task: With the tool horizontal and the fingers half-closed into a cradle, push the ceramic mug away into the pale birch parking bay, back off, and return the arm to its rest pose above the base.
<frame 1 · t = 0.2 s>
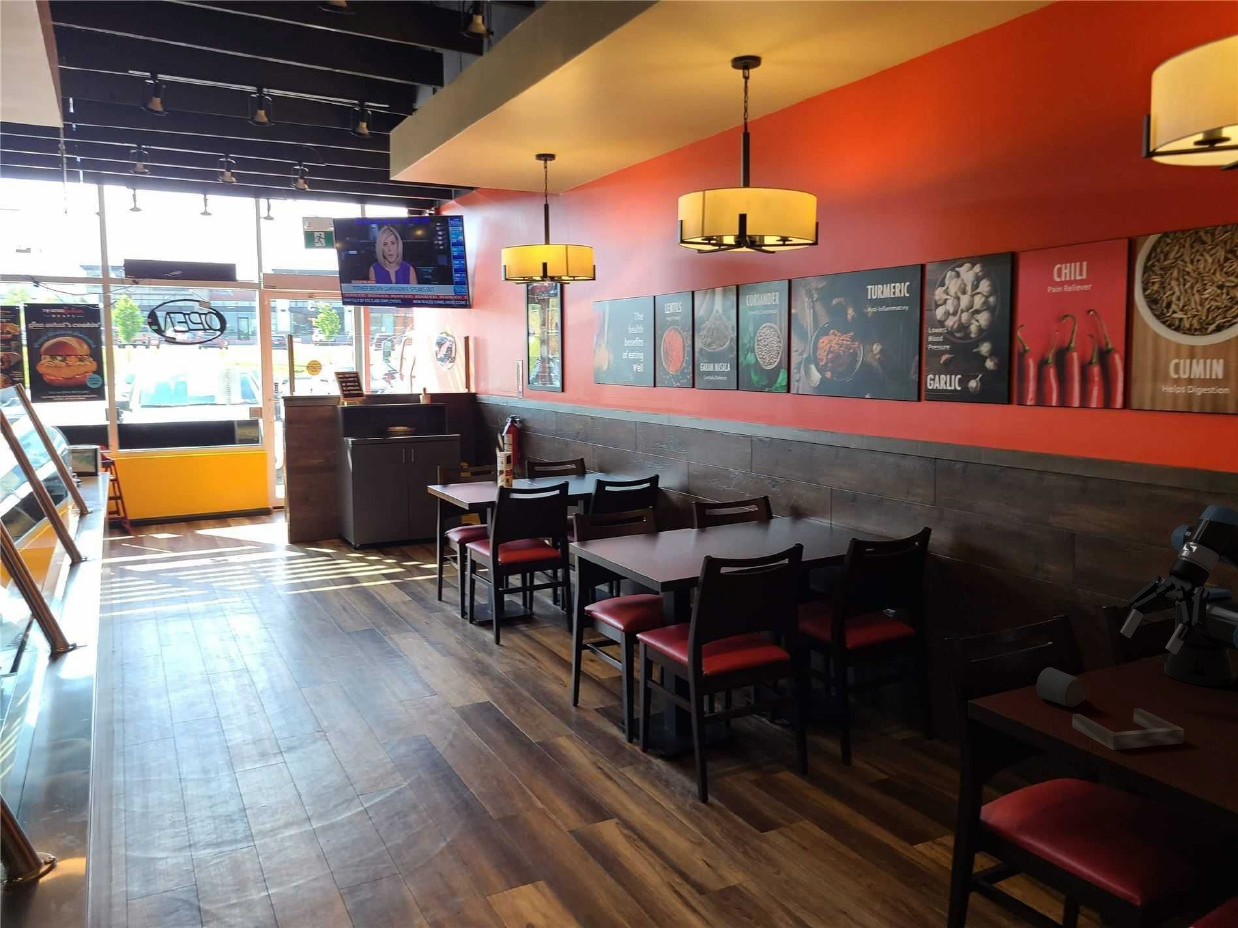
hand: (1147, 642, 204), 15 cm above the table, tool tilted 35°, fingers open, 13 cm apart
ceramic mug: (1062, 702, 208), on the table
bay: (1126, 734, 188), on the table
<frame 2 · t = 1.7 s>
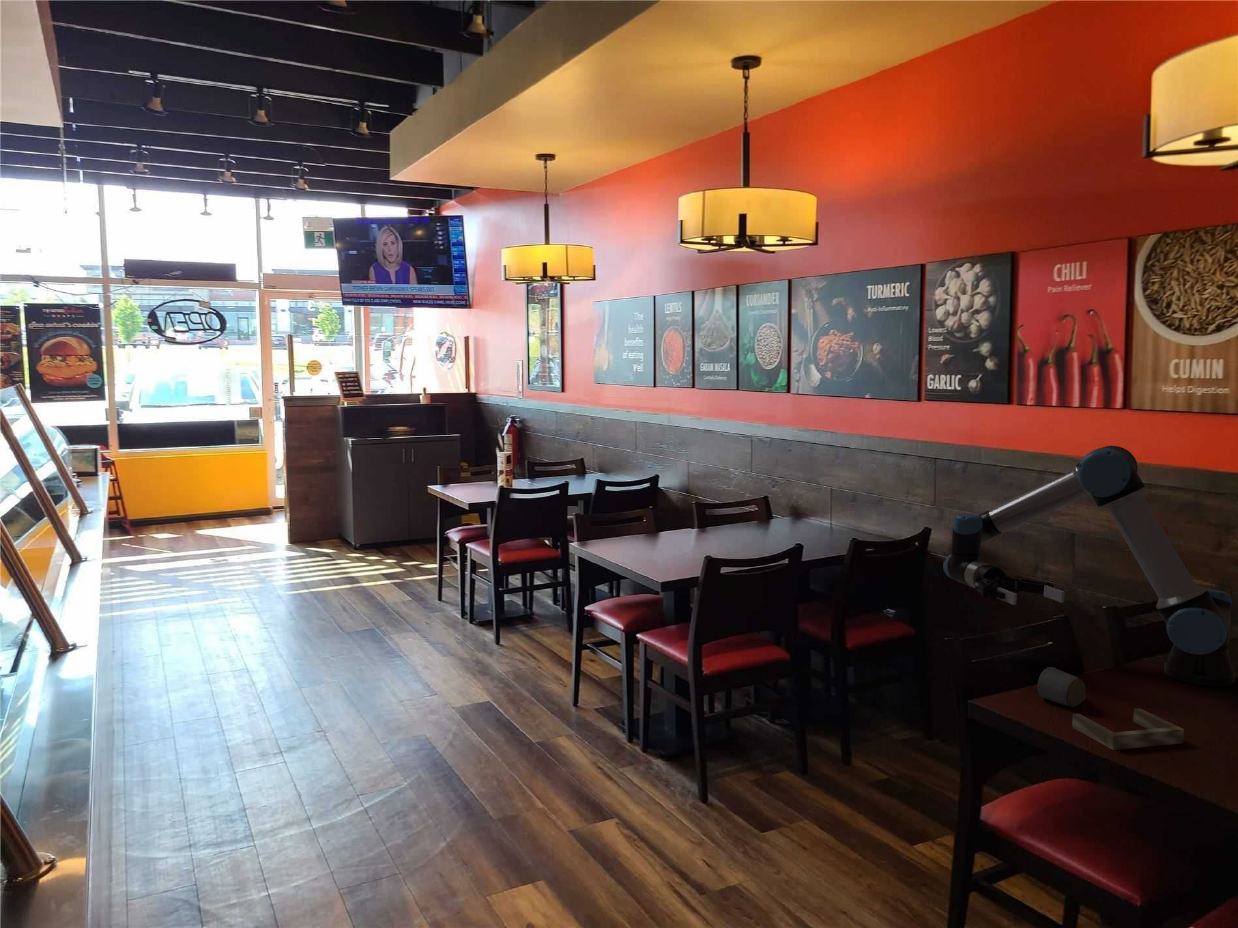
hand: (1039, 598, 215), 23 cm above the table, tool horizontal, fingers open, 13 cm apart
nothing on the table moved.
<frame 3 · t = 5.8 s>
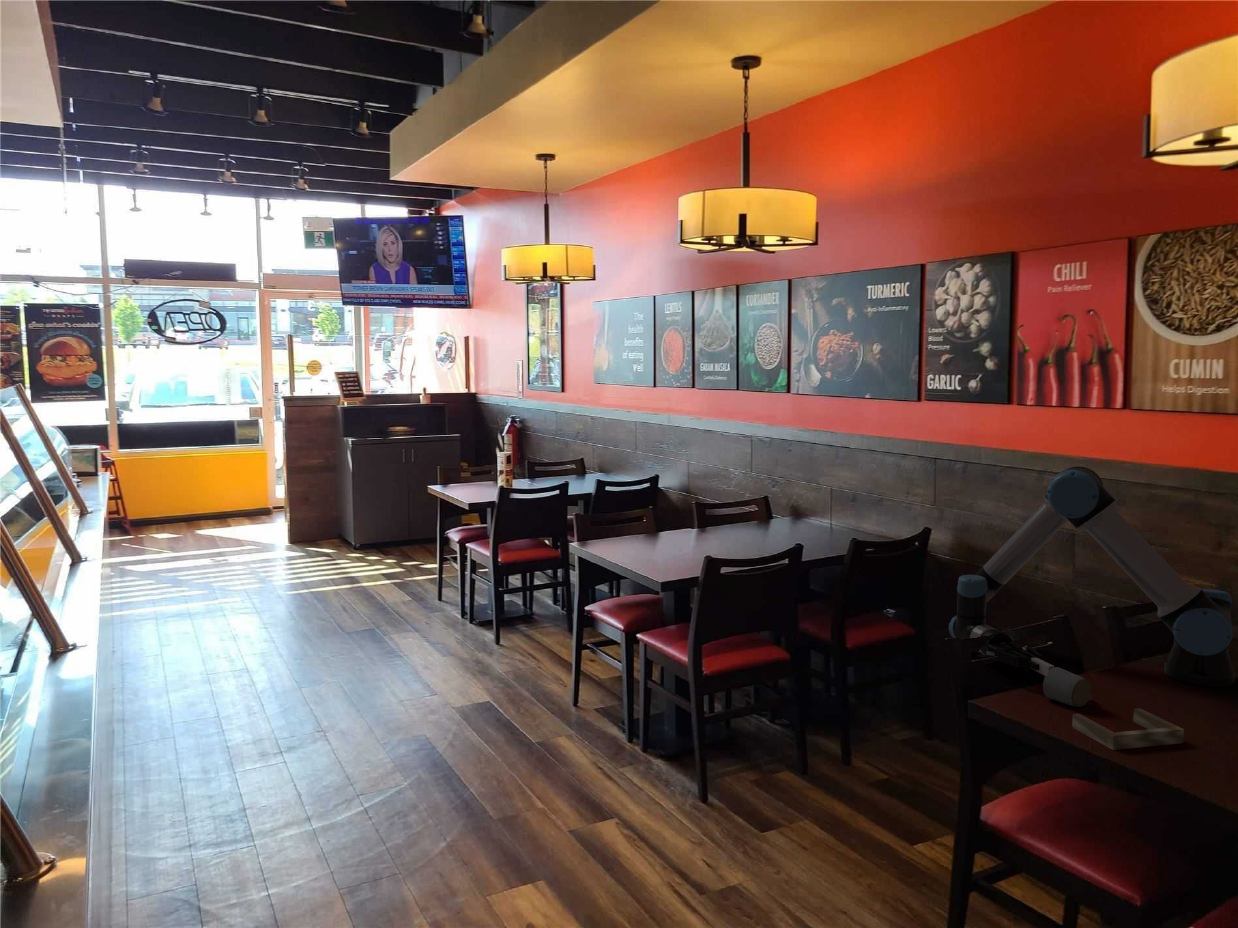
hand: (1051, 671, 209), 6 cm above the table, tool horizontal, fingers closed
ceramic mug: (1069, 702, 207), on the table, touching gripper
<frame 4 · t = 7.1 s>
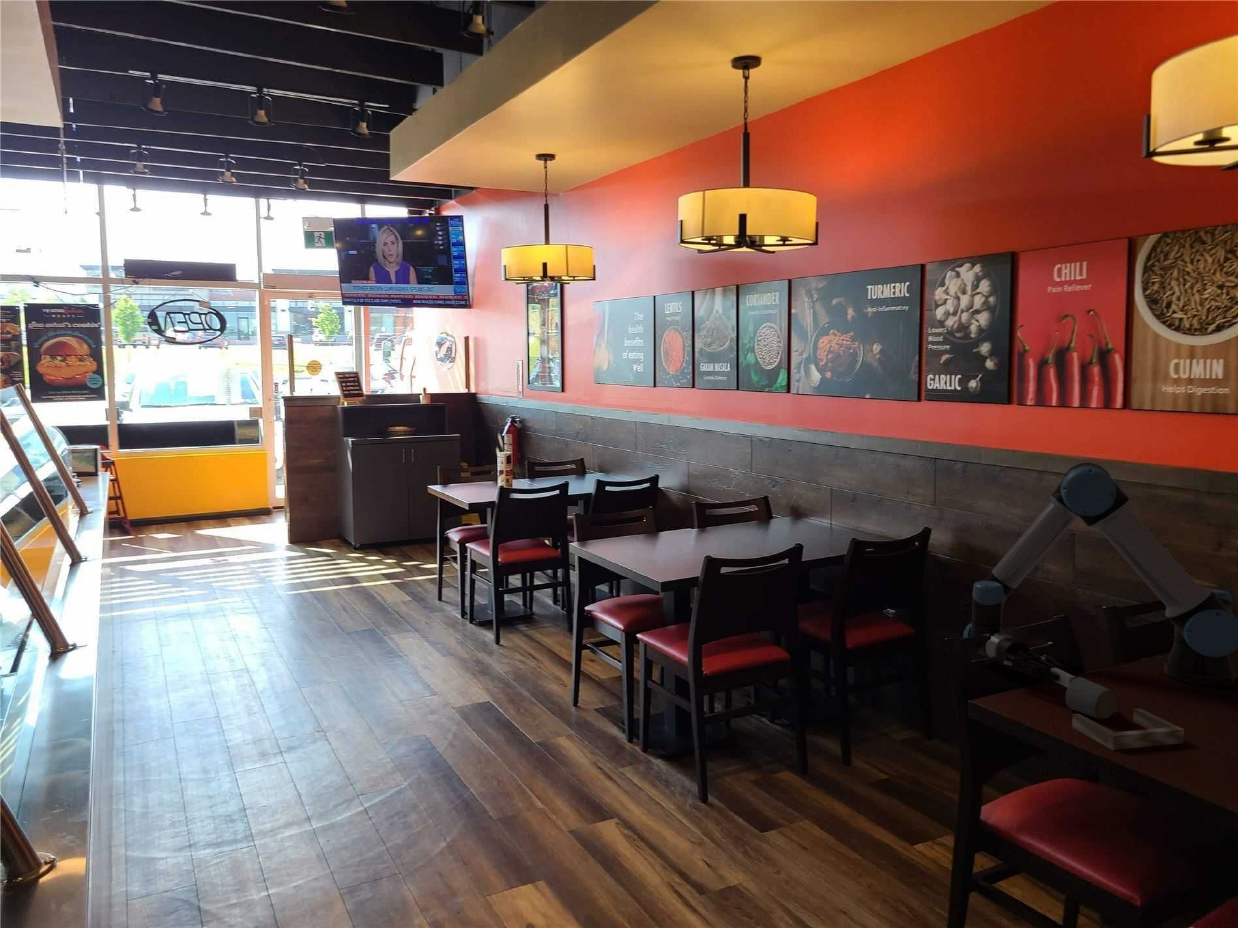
hand: (1072, 682, 202), 6 cm above the table, tool horizontal, fingers closed
ceramic mug: (1093, 714, 200), on the table, touching gripper
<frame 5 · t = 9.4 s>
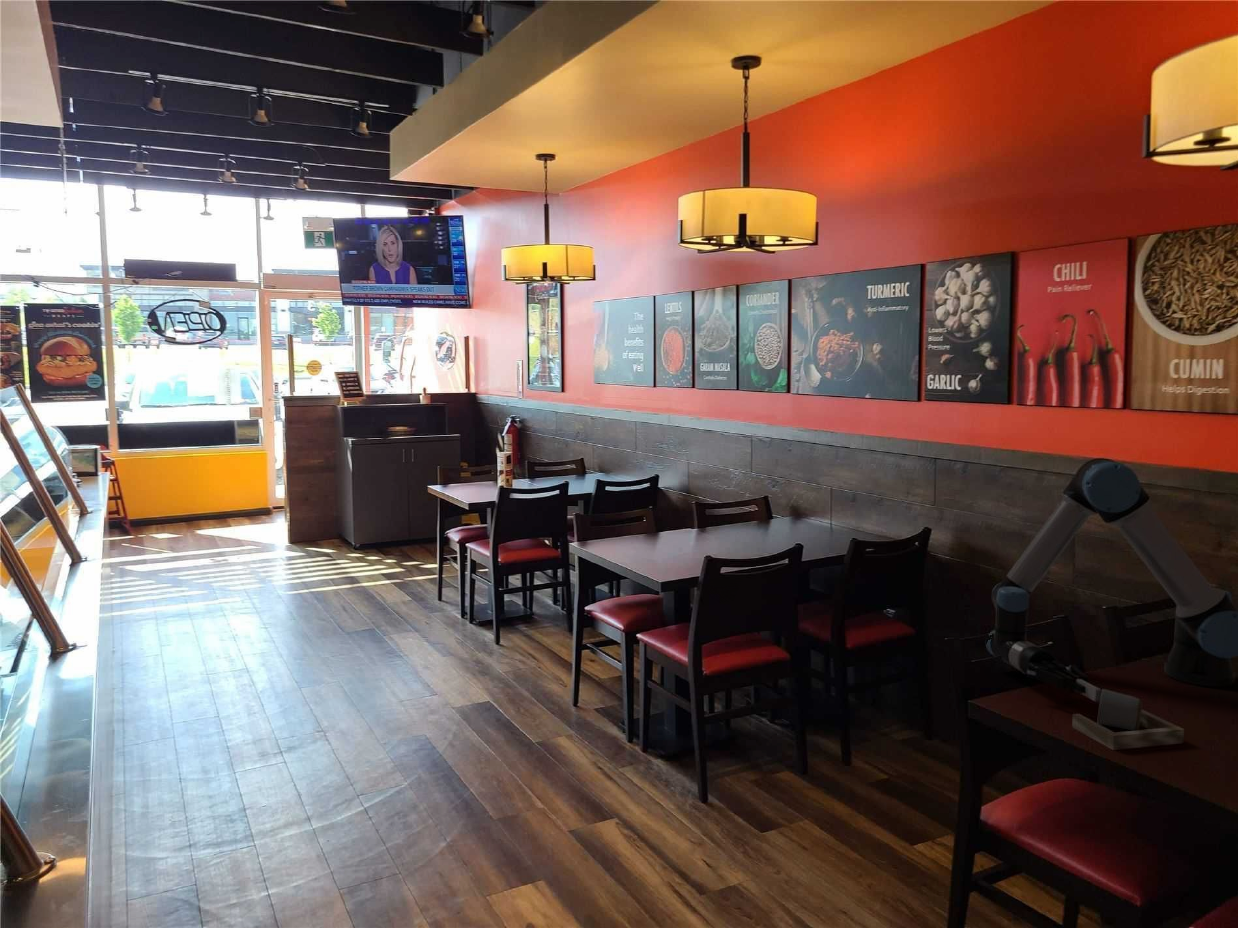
hand: (1097, 695, 193), 7 cm above the table, tool horizontal, fingers closed
ceramic mug: (1116, 725, 193), on the table, touching bay, gripper
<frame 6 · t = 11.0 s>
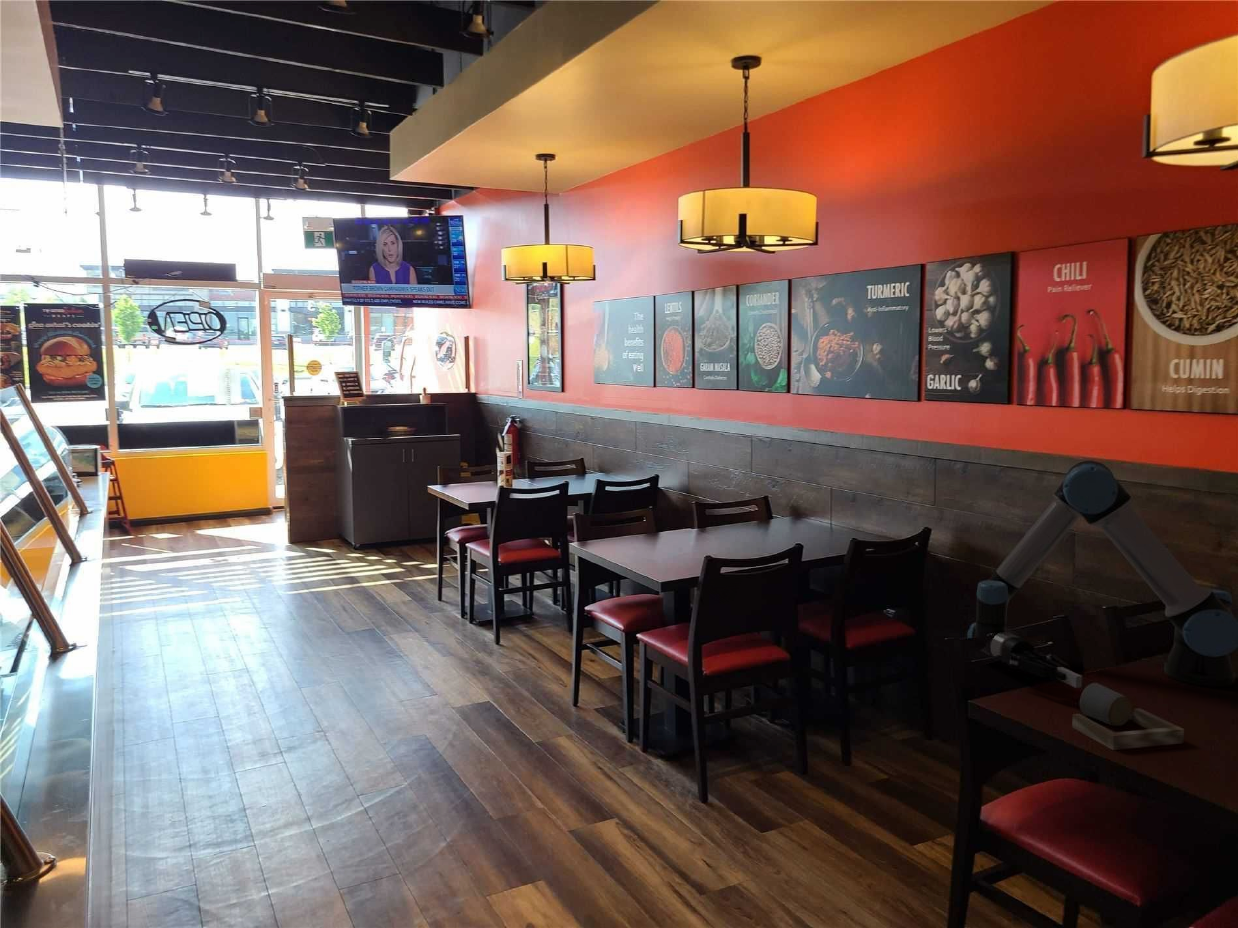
hand: (1078, 681, 202), 7 cm above the table, tool horizontal, fingers closed
ceramic mug: (1108, 720, 196), on the table
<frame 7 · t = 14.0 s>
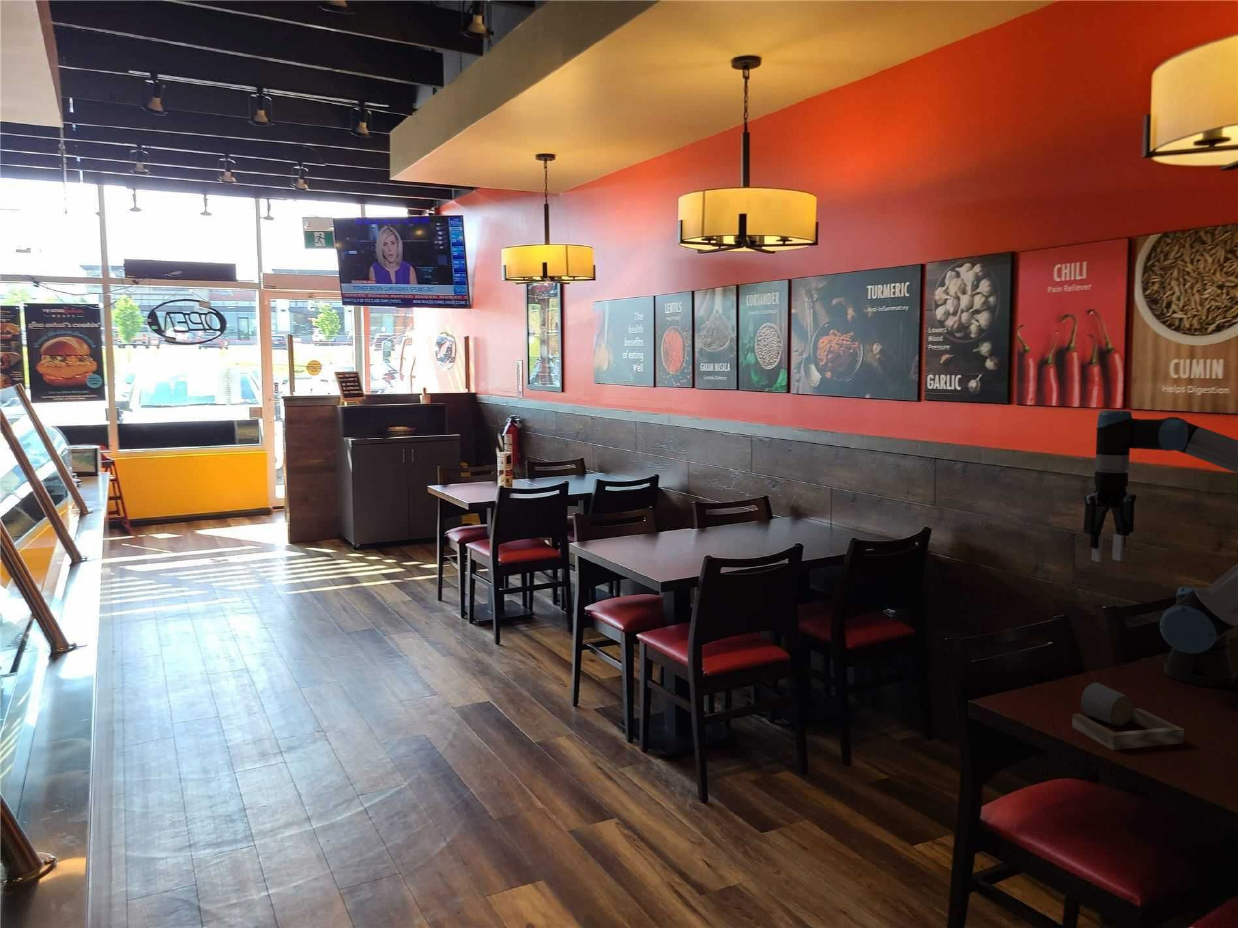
hand: (1106, 560, 225), 30 cm above the table, tool pointing down, fingers open, 5 cm apart
nothing on the table moved.
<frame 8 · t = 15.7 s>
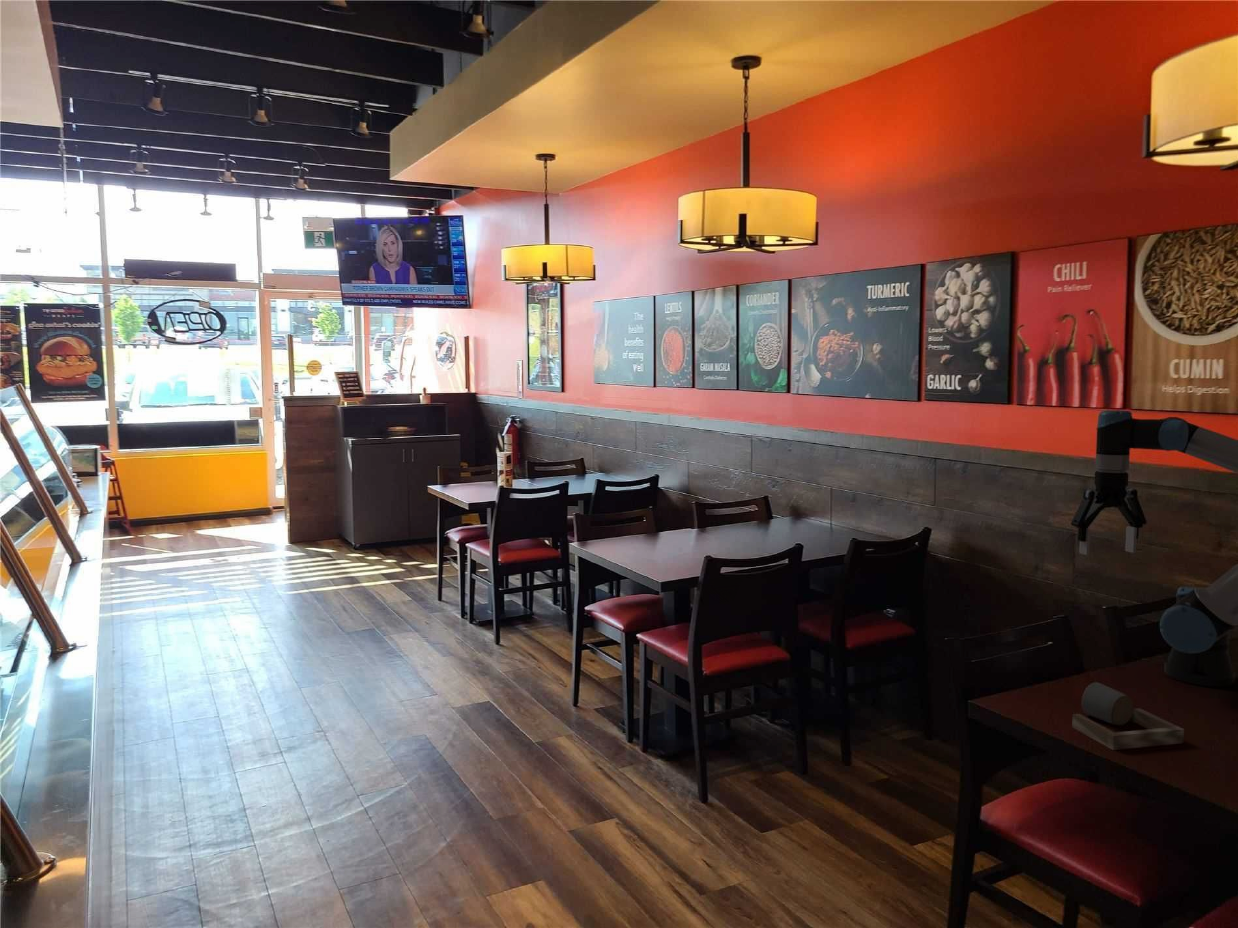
hand: (1107, 553, 225), 32 cm above the table, tool pointing down, fingers open, 13 cm apart
nothing on the table moved.
at the end: ceramic mug inside the target area (6.8 cm from its centre), on the table; ceramic mug tilted 0°; ceramic mug moved 11.9 cm from its start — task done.
